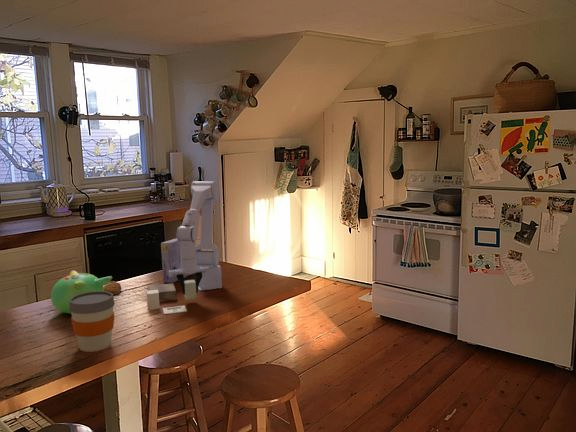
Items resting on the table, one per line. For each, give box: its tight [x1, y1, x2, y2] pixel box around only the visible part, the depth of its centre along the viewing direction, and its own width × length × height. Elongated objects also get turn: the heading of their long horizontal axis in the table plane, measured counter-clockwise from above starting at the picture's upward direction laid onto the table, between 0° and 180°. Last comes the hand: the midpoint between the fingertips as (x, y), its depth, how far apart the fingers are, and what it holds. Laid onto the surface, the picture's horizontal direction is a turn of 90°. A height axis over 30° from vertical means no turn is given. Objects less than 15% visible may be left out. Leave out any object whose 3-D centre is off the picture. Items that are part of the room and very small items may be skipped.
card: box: [162, 305, 188, 315], centre depth 176 cm, size 8×6×1 cm
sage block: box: [183, 279, 197, 300], centre depth 183 cm, size 4×4×6 cm
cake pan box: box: [160, 237, 192, 284], centre depth 217 cm, size 19×5×18 cm, turn 158°
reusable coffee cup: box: [69, 291, 115, 353], centre depth 146 cm, size 13×13×15 cm
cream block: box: [146, 290, 161, 311], centre depth 179 cm, size 4×4×6 cm
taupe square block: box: [147, 282, 177, 303], centre depth 191 cm, size 10×10×4 cm
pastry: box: [103, 280, 122, 295], centre depth 198 cm, size 9×7×4 cm
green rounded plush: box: [50, 270, 113, 315], centre depth 175 cm, size 18×17×15 cm
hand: (190, 292), depth 184 cm, fingers closed on sage block, 4 cm apart
